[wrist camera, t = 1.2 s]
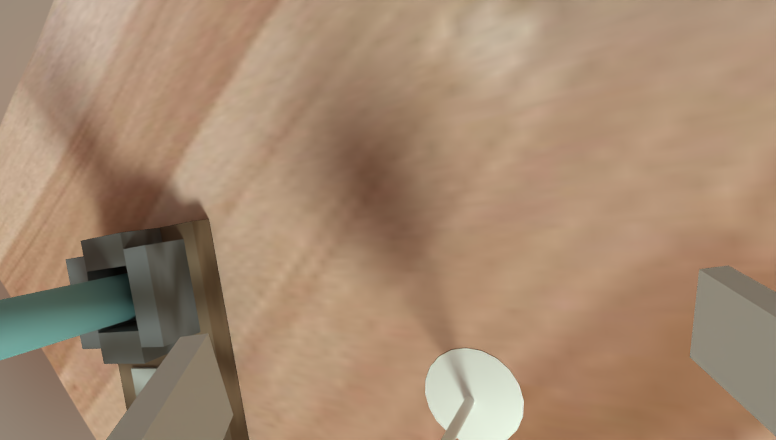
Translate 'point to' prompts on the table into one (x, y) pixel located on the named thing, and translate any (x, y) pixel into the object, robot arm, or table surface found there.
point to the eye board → (206, 319)
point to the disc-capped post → (63, 313)
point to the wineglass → (473, 396)
